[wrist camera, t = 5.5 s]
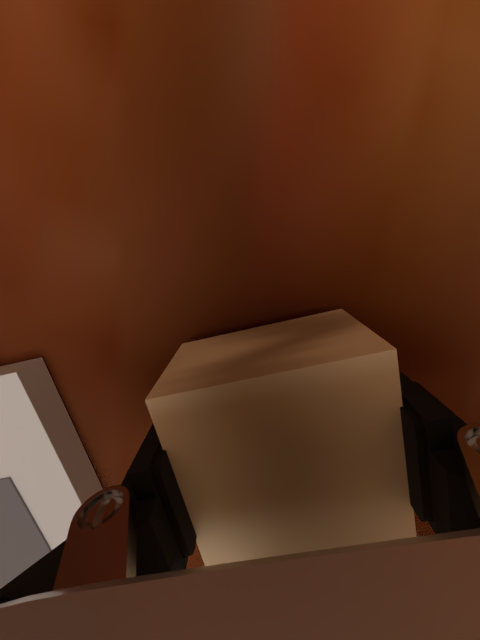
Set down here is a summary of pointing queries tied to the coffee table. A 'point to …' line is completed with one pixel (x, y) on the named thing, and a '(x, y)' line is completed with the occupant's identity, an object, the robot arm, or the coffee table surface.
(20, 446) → the base board
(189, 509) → the maple brick
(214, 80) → the coffee table surface
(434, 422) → the robot arm
